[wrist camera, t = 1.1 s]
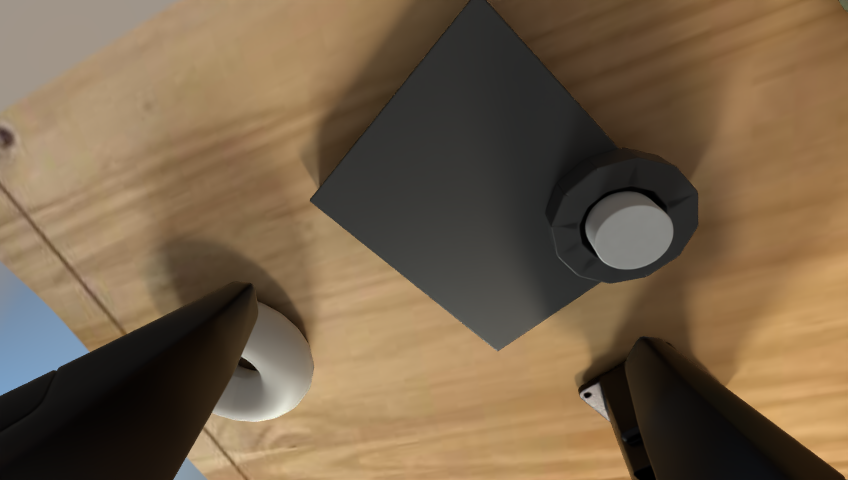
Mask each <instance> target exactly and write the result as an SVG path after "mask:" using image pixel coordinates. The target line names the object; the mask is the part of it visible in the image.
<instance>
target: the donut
mask: <svg viewBox="0 0 848 480" xmlns="http://www.w3.org/2000/svg"><path fill="white" fill-rule="evenodd" d="M257 303H258V318H257V321H256V323H255V326H254V328H253V330H252V333H251V335H250V337H249V339H248V342H247V344H246V346H245V349H244V351H243V353H242V355H241V357H243V358H245V359H246V360H248V361H249V362H250V363H251V364H253V365H254V366H255V367H256V369H257V370H258V371H255V370H250V369H247V368H243V367H241V366H239V365H237V367H236V369H235V371H234V373H233V375H232V378H231V380H230V381H229V383H228V385H227V387H226V389H225V390H224V392H223V394H222V396H221V397H220V399H219V401H218V403H217V404H216V406H215V408H214V410H213V411H212V413H214V414H216V415H219V416H222V417H226V418H230V419H233V420H237V421H252V422H257V421H262V420H268V419H273V418H277V417H279V416H281V415H283V414H285V413H287V412H289V411H290V410H292V409H293V408H295V407H296V406H297V405H298V404H299V402H300V401H301V400H302V399H303V397H304V396H305V395H306V393H307V392H308V390H309V389H310V386H311V382H312V376H313V371H314V363H313V358H312V354H311V350H310V346H309V344H308V343H307V341H306V340H305V338H304V337H303V335H302V333H301V332H300V330H299V329H298V328H297V327H296V326H295V325H294V324H293V323H292V322H290V321H289V320H288V319H287V318H286V317H285V316H284V315H283V314H281V313H280V312H278V311H276V310H274V309H272V308H270V307H269V306H267V305H265V304H263V303H260V302H257Z"/></svg>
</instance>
